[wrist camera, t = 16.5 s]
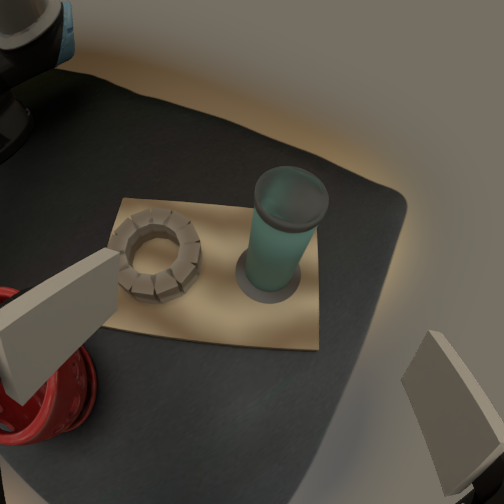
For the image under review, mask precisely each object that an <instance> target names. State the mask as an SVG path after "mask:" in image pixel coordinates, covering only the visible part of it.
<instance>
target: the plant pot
mask: <svg viewBox="0 0 504 504" xmlns="http://www.w3.org/2000/svg"><path fill="white" fill-rule="evenodd" d="M18 292H19V290H16V289H13V288H9V287H0V303H3V301H4V300H6V299H8V298H11V296H13V295H14V294H16V293H18ZM96 391H97V382H96V373H95V369H94V365H93V362H92V360H91V358H90V355H89V354H88V352H87V350H86V349H85V347H84V346H83V345H81V346H80V347H79V348H78V349H77V350H76V351H75V352H74V353H73V354H72V355H71V356H70V357H69V358H68V359H67V360H66V361H65V362H64V363H63V364H62V365H61V366H60V367H59V368H58V369H57V370H56V371H55V373H54V374H53V375H52V376H51V377H50V378H49V379H48V380H47V381H46V382H45V383H44V384H43V385H42V386H41V387H40V388H39V389H38V390H37V391H36V392H35V393H34V395H33V396H32V397H31V398H30V399H29V400H28V401H27V402H26V403H25V404H24V405H23V406H22V405H20V404H19V403H18V402H16V401H15V400H13V399H12V398H11V397H9V396H8V395H7V394H6V392H5V390H4V387H3V384H2V382H1V381H0V411H1V413H0V423H2V424H4V425H6V426H7V427H9V428H10V429H11V430H12V431H13V432H9V431H4V430H2V429H0V444H3V445H10V446H18V445H28V444H34V443H38V442H41V441H45V440H48V439H51V438H53V437H55V436H57V435H59V434H60V433H63V432H68V431H71V430H73V429H75V428H77V427H78V426H80V425H81V424H82V423H83V422H84V421H85V420H86V419H87V417H88V416H89V414H90V412H91V410H92V408H93V406H94V403H95V398H96Z"/></svg>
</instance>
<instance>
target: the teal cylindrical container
mask: <svg viewBox="0 0 504 504" xmlns="http://www.w3.org/2000/svg"><path fill="white" fill-rule="evenodd" d="M328 204H329V197H328V193H327V190H326V188H325V186H324V185H323V184H322V182H321V181H320V180H319V179H318V178H317V177H316V176H314V175H313V174H311V173H310V172H308V171H306V170H303V169H301V168H297V167H291V166H281V167H276V168H273V169H270V170H268V171H267V172H265V173H264V174H263V175H262V176H261V177H260V178H259V179H258V181H257V183H256V187H255V194H254V211H253V218H252V225H251V231H250V238H249V245H248V252H247V259H246V266H245V272H246V276H247V278H248V280H249V282H250V283H251V284H252V285H253V286H254V287H256V288H257V289H259V290H262V291H265V292H274V291H278V290H281V289H282V288H284V287H285V286H286V285H287V284H288V283H289V281H290V279H291V277H292V275H293V273H294V272H295V270H296V268H297V266H298V264H299V262H300V260H301V258H302V256H303V254H304V252H305V250H306V248H307V246H308V244H309V242H310V240H311V238H312V236H313V234H314V232H315V230H316V228H317V226H318V224H319V223H320V222H321V220H322V219H323V217H324V215H325V212H326V210H327V208H328Z"/></svg>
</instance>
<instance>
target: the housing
mask: <svg viewBox="0 0 504 504" xmlns="http://www.w3.org/2000/svg"><path fill="white" fill-rule="evenodd" d="M253 211H254V209H253V208H243V207H233V206H223V205H212V204H201V203H189V202H176V201H163V200H148V199H132V198H123V200H122V203H121V206H120V209H119V211H118V214H117V217H116V220H115V223H114V226H113V230H112V233H111V236H110V239H109V242H108V246H107V248H108V249H111V250H114V251H117V252H120V259H119V275H118V296H117V311H116V312H115V313H114V314H113V315H112V316H111V317H110V318H109V319H108V320H107V321H106V322H105V323H104V324H103V325H102V326H101V327H104V328H109V329H114V330H120V331H125V332H131V333H137V334H143V335H149V336H155V337H162V338H169V339H176V340H183V341H191V342H199V343H207V344H217V345H226V346H237V347H249V348H262V349H277V350H296V351H317V350H319V281H318V247H317V228H316V230H315V232H314V234H313V236H312V238H311V240H310V242H309V244H308V246H307V248H306V250H305V252H304V254H303V256H302V258H301V260H300V262H299V264H298V266H297V268H296V270H295V272H294V273H293V275H292V277H291V279H290V281H289V283H288V284H287V285H286V286H285V287H284V288H282V289H281V290H278V291H274V292H265V291H262V290H259V289H257V288H256V287H254V286H253V285H252V284H251V283H250V282H249V280H248V278H247V276H246V272H245V266H246V259H247V252H248V245H249V238H250V231H251V225H252V218H253Z"/></svg>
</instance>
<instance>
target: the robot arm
mask: <svg viewBox="0 0 504 504" xmlns="http://www.w3.org/2000/svg"><path fill="white" fill-rule="evenodd" d="M74 54H75V42H74V32H73V18H72V8H71V2H70V1H65V2H64V1H63V2H60V0H0V163H2V162H3V161H5V160H6V159H7V158H9V157H10V156H11V155H12V154H14V153H15V152H16V151H17V150H18V149H19V148H20V147H21V146H22V144H23V143H24V142H25V141H26V140H27V138H28V137H29V135H30V134H31V132H32V130H33V127H34V118H33V116H32V114H31V112H30V111H29V109H27V108H26V107H25V106H24V105H23V104H22V103H21V102H20V101H19V100H18V99H17V98H16V97H15V96H14V95H13V93H12V90H11V88H13V87H15V86H17V85H19V84H21V83H23V82H25V81H27V80H29V79H31V78H33V77H35V76H37V75H39V74H41V73H43V72H46V71H48V70H50V69H52V68H55V67H57V66H58V65H60V64H62V63H64V62H66V61H68V60H70V59H71V58H72V57H73V56H74ZM119 259H120V252H117V251H114V250H111V249H108V248H103V249H101V250H99V251H98V252H96V253H94V254H92V255H90V256H88V257H87V258H85V259H83V260H81V261H79V262H77V263H76V264H74V265H72V266H70V267H69V268H67V269H65V270H63V271H62V272H60V273H58V274H56V275H55V276H53V277H51V278H49V279H48V280H46V281H44V282H43V283H41V284H39V285H38V286H36V287H31V288H27V289H24V290H21V291H19V292H18V293H16V294H14V295H13V296H11V298H8V299H6V300H4V301H3V303H0V381H1V382H2V384H3V387H4V390H5V392H6V394H7V395H8V396H9V397H11V398H12V399H13V400H15V401H16V402H18V403H19V404H20V405H22V406H23V405H24V404H25V403H26V402H27V401H28V400H29V399H30V398H31V397H32V396H33V395H34V393H35V392H36V391H37V390H38V389H39V388H40V387H41V386H42V385H43V384H44V383H45V382H46V381H47V380H48V379H49V378H50V377H51V376H52V375H53V374H54V373H55V371H56V370H57V369H58V368H59V367H60V366H61V365H62V364H63V363H64V362H65V361H66V360H67V359H68V358H69V357H70V356H71V355H72V354H73V353H74V352H75V351H76V350H77V349H78V348H79V347H80V346H81V345H82V344H83V343H84V342H85V341H86V340H87V339H88V338H89V337H90V336H91V335H92V334H93V333H94V332H95V331H96V330H97V329H99V328H100V327H101V326H102V325H103V324H104V323H105V322H106V321H107V320H108V319H109V318H110V317H111V316H112V315H113V314H114V313H115V312H116V311H117V296H118V275H119ZM401 381H402V384H403V386H404V388H405V391H406V393H407V395H408V398H409V400H410V403H411V405H412V407H413V410H414V412H415V415H416V417H417V420H418V422H419V425H420V427H421V430H422V433H423V435H424V438H425V440H426V443H427V446H428V448H429V451H430V454H431V457H432V460H433V463H434V465H435V468H436V471H437V474H438V477H439V480H440V483H441V486H442V489H443V493H444V496H450V495H454V494H459V493H461V492H462V491H463V490H464V489H466V488H467V487H468V486H469V485H470V484H471V483H472V484H473V487H474V489H473V490H472V491H470V492H469V493H468V494H467V495H466V496H464V497H463V498H462V499H461V500H460V501H458V502H457V503H456V504H462V503H464V504H504V422H503V421H502V420H501V417H500V416H499V414H498V413H497V411H496V410H495V408H494V406H493V405H492V403H491V402H490V400H489V399H488V397H487V396H486V394H485V393H484V391H483V390H482V389H481V387H480V385H479V384H478V383H477V381H476V380H475V378H474V377H473V375H472V374H471V373H470V371H469V370H468V368H467V367H466V365H465V364H464V363H463V361H462V360H461V359H460V357H459V356H458V354H457V353H456V352H455V350H454V349H453V348H452V346H451V345H450V344H449V342H448V341H447V340H446V339H445V337H444V336H443V335H442V333H441V332H436V331H431V330H428V331H427V333H426V336H425V337H424V339H423V341H422V343H421V345H420V347H419V349H418V351H417V352H416V355H415V356H414V358H413V360H412V361H411V363H410V365H409V367H408V368H407V370H406V372H405V373H404V375H403V377H402V379H401ZM0 504H6V501H5V497H4V490H3V484H2V477H1V469H0Z"/></svg>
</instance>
